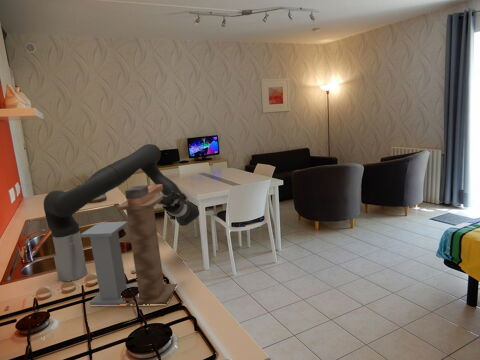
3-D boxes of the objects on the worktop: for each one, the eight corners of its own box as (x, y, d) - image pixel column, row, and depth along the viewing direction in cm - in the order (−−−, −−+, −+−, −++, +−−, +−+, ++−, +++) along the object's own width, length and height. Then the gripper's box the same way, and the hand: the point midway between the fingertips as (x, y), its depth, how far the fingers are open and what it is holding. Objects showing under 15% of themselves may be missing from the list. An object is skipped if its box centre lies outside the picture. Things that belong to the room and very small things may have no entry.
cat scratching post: (129, 306, 108) (113, 207, 101) (143, 288, 118) (129, 197, 112) (166, 306, 106) (152, 205, 100) (177, 288, 117) (165, 195, 110)
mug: (103, 197, 266) (100, 178, 263) (109, 200, 255) (106, 180, 252) (76, 203, 254) (73, 183, 251) (81, 206, 243) (77, 185, 240)
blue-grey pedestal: (90, 306, 109) (77, 234, 105) (107, 288, 120) (96, 222, 115) (126, 306, 108) (114, 233, 103) (140, 288, 118) (130, 221, 114)
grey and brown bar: (127, 205, 102) (124, 190, 101) (151, 190, 120) (149, 177, 119) (141, 204, 101) (139, 189, 100) (163, 189, 120) (162, 177, 119)
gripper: (158, 197, 140) (142, 185, 124) (193, 195, 138) (180, 183, 123) (157, 215, 137) (140, 205, 122) (192, 214, 135) (179, 203, 120)
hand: (160, 194), depth 122 cm, fingers open, 8 cm apart
